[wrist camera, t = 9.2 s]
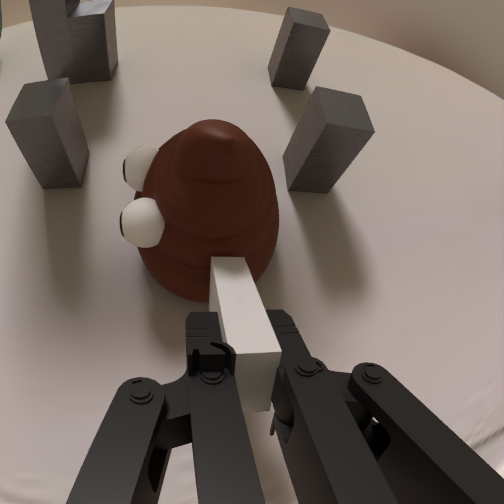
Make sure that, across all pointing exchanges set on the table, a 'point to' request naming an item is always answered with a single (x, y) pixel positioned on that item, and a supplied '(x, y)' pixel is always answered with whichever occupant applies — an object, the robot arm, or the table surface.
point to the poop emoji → (200, 206)
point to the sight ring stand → (55, 37)
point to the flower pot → (0, 19)
